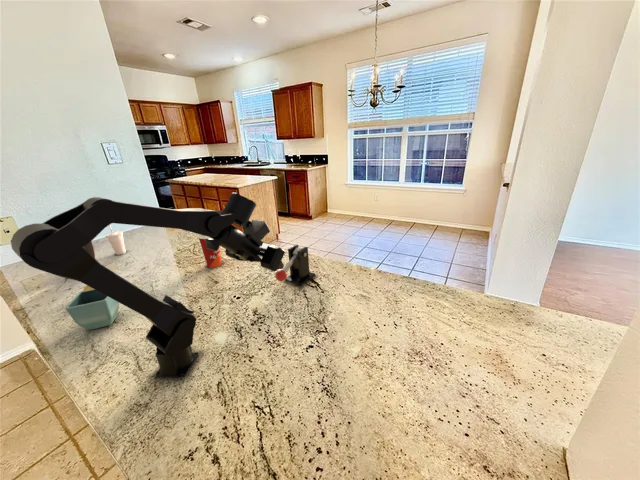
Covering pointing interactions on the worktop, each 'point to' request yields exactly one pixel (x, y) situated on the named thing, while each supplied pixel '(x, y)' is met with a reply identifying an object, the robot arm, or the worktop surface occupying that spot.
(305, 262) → the tap bracket
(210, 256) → the paper cup
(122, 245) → the smoothie
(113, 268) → the cake
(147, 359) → the worktop surface
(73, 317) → the flower pot
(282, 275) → the tap lever
